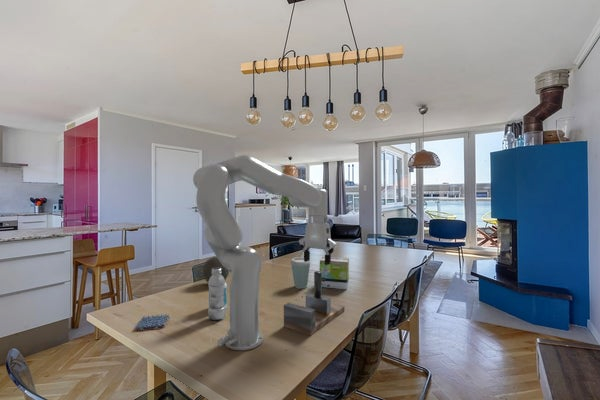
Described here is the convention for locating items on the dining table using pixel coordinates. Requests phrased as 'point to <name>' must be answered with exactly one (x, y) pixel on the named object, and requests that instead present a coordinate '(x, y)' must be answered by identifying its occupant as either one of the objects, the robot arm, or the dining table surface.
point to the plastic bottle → (216, 295)
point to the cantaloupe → (213, 264)
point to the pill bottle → (224, 296)
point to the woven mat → (152, 322)
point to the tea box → (335, 273)
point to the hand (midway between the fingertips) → (316, 262)
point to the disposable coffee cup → (300, 272)
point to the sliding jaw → (318, 297)
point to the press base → (318, 320)
